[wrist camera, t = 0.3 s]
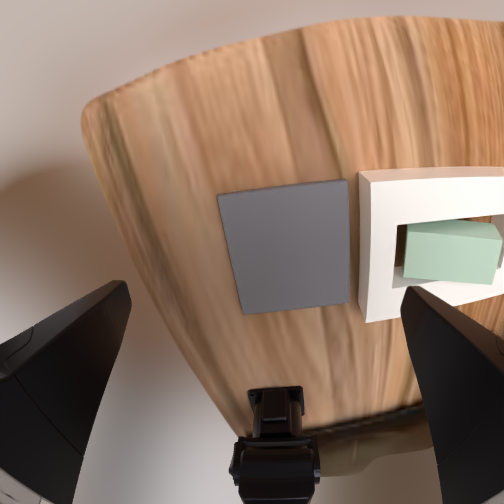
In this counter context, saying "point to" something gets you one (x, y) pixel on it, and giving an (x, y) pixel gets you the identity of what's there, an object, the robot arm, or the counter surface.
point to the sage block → (452, 251)
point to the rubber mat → (289, 245)
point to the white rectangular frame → (415, 211)
